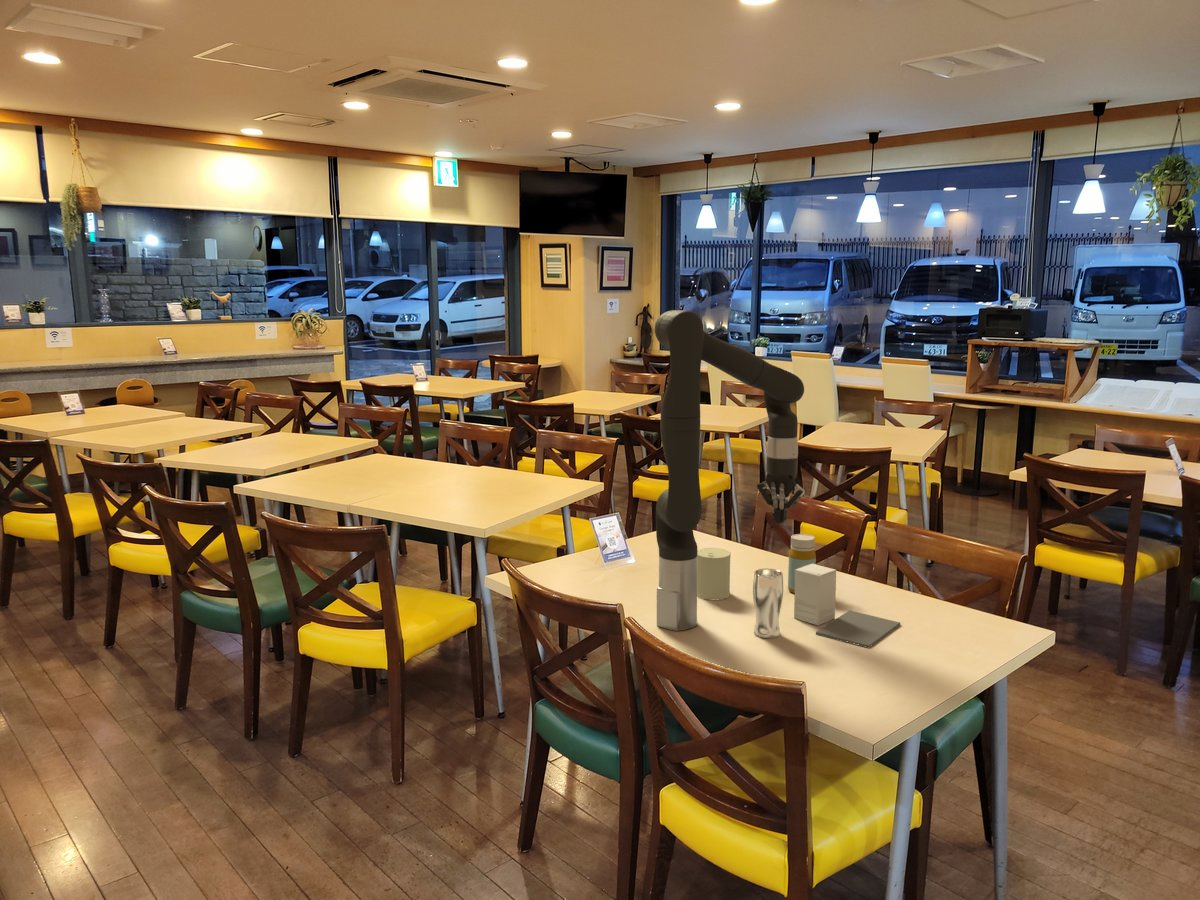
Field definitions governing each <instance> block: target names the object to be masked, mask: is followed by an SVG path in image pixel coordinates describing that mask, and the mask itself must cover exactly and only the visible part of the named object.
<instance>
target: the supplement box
mask: <svg viewBox="0 0 1200 900" xmlns="http://www.w3.org/2000/svg"><path fill="white" fill-rule="evenodd" d="M836 582H837V569H835V568H832V567H826V566H823V565H819V564H810V565H807V566H804V567H801V568H798V569H795V594H794V603H793V604H794V605H793V606H794V607H793V608H794V609H793V614H794V615H793V618H794V619H797V620H800V621H803V622H806V623H809V624H812V625H816V626H820V625H822V624H825V623H827V622H831V621H833V620H835V619H836V593H837V592H836V591H837V589H836V588H837V583H836ZM832 619H833V620H832Z"/></svg>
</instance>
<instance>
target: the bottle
mask: <svg viewBox="0 0 1200 900" xmlns="http://www.w3.org/2000/svg"><path fill="white" fill-rule="evenodd" d="M815 540H816V538H815V536H814V535H811V534H807V533H806V534H805V533H796V534H792V535H791V536H790V549H789V552H788V567H787V568H788V569H787V570H788V571H787V589H788V590H789V592H790V593H792V594H794V593H795V569H798V568H801V567H804V566H807V565H810V564H816V560H817V557H816V556H817V555H816V551H815V545H816V541H815ZM816 565H817V564H816Z"/></svg>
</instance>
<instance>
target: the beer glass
mask: <svg viewBox="0 0 1200 900" xmlns="http://www.w3.org/2000/svg"><path fill="white" fill-rule="evenodd" d="M753 573H754V574H753V580H752V583H753V584H752V597H753V598H752V599H753V604H754V605H753V606H754V612H755V624H754V629H753V634H754V636H756V637H758V638H761V639H776V638H778V637H780V635H781V631H780V625H779V623H780V621H779V620H780V613H781V608H782V604H783V598H784V578H783V577H784V575H783V574H784V573H783V571H781V570H778V569H775V568H768V567H767V568H758V569H756V570H754V571H753Z"/></svg>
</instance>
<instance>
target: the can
mask: <svg viewBox="0 0 1200 900" xmlns="http://www.w3.org/2000/svg"><path fill="white" fill-rule="evenodd" d="M730 585H731V551H730V550H728V549H725V548H718V547H706V548H701V549H697V598H699V597H700V599H702V598H703V599H702V600H706V599H709V600H708V601H712V600H711V599H715V600H714V601H717V600H716V599H722V600H725V599H724V598H726V599H728V598H730V596H731V589H730V587H731V586H730ZM727 597H728V598H727Z"/></svg>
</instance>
